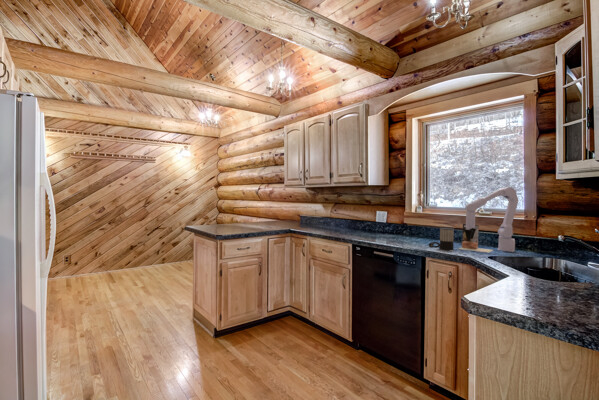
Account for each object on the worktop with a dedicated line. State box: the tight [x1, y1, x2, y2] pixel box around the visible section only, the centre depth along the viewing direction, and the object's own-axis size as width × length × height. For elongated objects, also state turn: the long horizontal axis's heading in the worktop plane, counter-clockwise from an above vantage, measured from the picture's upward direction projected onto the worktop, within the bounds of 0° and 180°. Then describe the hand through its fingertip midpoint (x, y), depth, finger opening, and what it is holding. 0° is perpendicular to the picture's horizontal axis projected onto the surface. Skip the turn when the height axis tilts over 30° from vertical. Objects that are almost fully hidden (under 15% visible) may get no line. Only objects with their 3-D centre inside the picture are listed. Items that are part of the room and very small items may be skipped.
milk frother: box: [428, 227, 455, 251], centre depth 215 cm, size 14×16×15 cm
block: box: [461, 241, 479, 249], centre depth 217 cm, size 9×5×4 cm, turn 48°
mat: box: [458, 246, 494, 254], centre depth 211 cm, size 19×15×1 cm
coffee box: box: [461, 223, 480, 244], centre depth 232 cm, size 9×6×16 cm
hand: (469, 239), depth 217 cm, fingers open, 7 cm apart
